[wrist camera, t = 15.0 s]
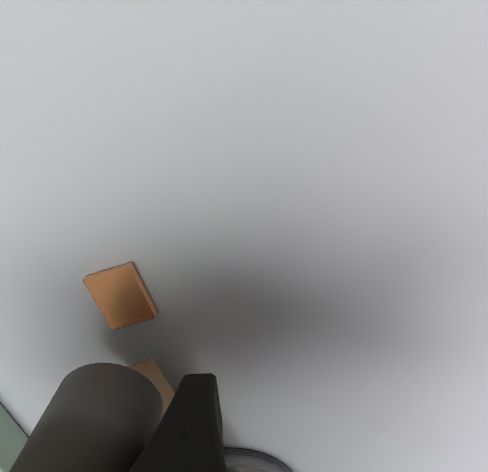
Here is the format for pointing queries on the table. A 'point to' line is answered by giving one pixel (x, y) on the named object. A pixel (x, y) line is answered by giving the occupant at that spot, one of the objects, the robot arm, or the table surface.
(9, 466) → the tray
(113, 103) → the table surface
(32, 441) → the crank
